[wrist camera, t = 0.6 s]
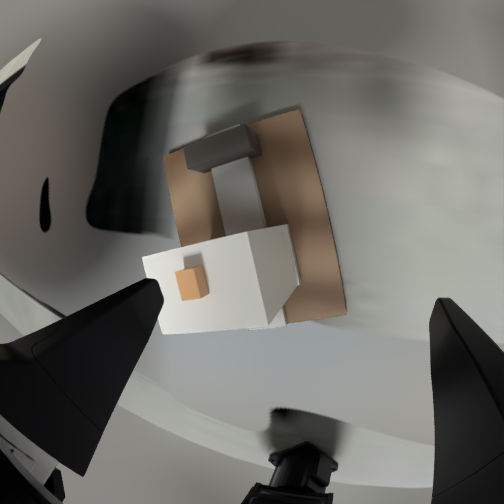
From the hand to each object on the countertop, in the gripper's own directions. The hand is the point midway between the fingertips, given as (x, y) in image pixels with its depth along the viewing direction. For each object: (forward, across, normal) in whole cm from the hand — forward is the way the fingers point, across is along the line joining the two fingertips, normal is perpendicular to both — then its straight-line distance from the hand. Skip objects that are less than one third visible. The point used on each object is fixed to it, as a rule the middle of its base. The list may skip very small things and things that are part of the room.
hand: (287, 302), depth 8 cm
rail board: (+16, +7, +5) cm, 18 cm away
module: (+14, +6, +7) cm, 17 cm away
